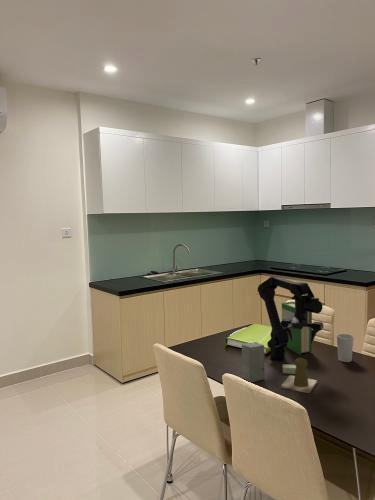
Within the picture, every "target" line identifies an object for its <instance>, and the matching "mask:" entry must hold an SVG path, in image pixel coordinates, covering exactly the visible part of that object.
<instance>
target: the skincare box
mask: <svg viewBox="0 0 375 500" xmlns="http://www.w3.org/2000/svg"><path fill="white" fill-rule="evenodd" d="M241 365H242V366H241V374H242V375H241V377H242V379H243V380H245V381H248V382H249V383H250V382H252V383H254V382H259V381H262V380H265V345H264V344H262V343H259V342H257V341H255V342H254V341H253V342H246V343H242V344H241Z"/></svg>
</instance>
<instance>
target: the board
mask: <svg viewBox="0 0 375 500" xmlns="http://www.w3.org/2000/svg"><path fill="white" fill-rule="evenodd" d="M294 378H295V375H293V374H289V375H288V377H287V378H286V379H285V380H284V381H283V382H282V384H281V387H280V388H283V389H288V390H292V391H295V392H296V391H297V392H301V393H306V394H311V392H312V391H313V390H314V388H315V386H316V385H317V383H318V380H316V379H312V378H308V386H306V387H299V386H296V385H294Z"/></svg>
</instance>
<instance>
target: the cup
mask: <svg viewBox="0 0 375 500" xmlns="http://www.w3.org/2000/svg"><path fill="white" fill-rule="evenodd" d="M354 338H355V337H354V335H352V334H347V333H339V334H338V333H337V334H336V345H337V347H336V348H337V360H338V361H340V362H343V363H350V362H352V360H353V358H352V357H353V349H354V348H353V347H354Z"/></svg>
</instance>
